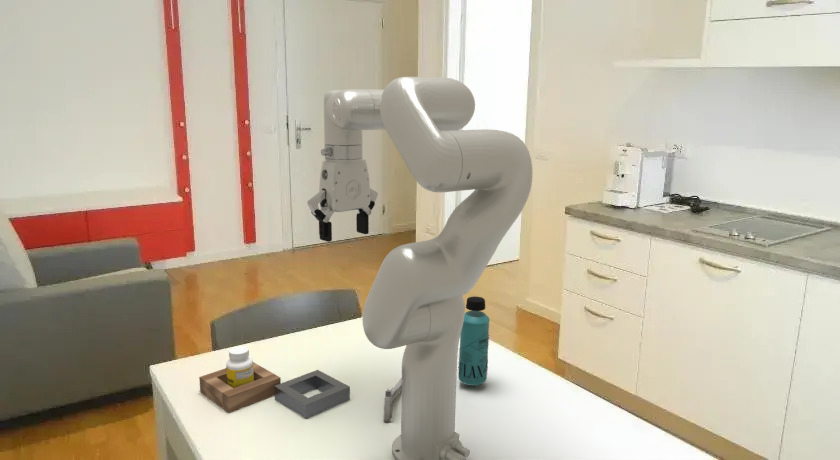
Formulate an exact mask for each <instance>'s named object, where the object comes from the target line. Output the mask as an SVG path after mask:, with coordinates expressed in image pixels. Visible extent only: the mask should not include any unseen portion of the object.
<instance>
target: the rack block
mask: <svg viewBox="0 0 840 460" xmlns="http://www.w3.org/2000/svg"><path fill="white" fill-rule="evenodd" d="M253 372H254V381H252V382H250V383H247V384H244V385H241V386H239V387H236V388H232V387H231V386H229V385H228V384H227V369H226V367H225V368H223V369H219V370H217V371H213V372H210V373H207V374H205V375H201V376H199V377H198V379H199V392H200V394H202V395H203V396H205V397H206V398H207V399H209V400H210V401H212V402H214V403H215V404H216V405H217V406H219V407H220V408H222V409H223V410H224V411H226V412H227V413H229V414H230V413H233V412H235V411H238V410H241V409H243V408H245V407H249V406H250V405H254V404H256V403H259V402H261V401H264V400H266V399H268V398H271V397H275V390H274V386H276V385H278V384H281V383H282V381H281V380H282V379H281V377H280V376H279V375H276V374H275V373H273V372H271V371H270V370H268V369H267V368H264V367H262V365H259V364H257V363H256V362H254V361H253Z"/></svg>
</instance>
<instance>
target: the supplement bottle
mask: <svg viewBox="0 0 840 460" xmlns="http://www.w3.org/2000/svg"><path fill="white" fill-rule="evenodd" d="M228 357H229V358H228V360H227V361H226V364H225V368H226V369H227V384H228V385H229V386H231V387H232V388H236V387H239V386H241V385H244V384H247V383H250V382H252V381H254V372H253V362H254V361H253V359H252V357H251V356H250V349H249V348H248V347H247V346H244V345H241V346H240V345H238V346H233V347H231V348H230V349H228Z"/></svg>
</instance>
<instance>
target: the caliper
mask: <svg viewBox="0 0 840 460" xmlns="http://www.w3.org/2000/svg"><path fill="white" fill-rule="evenodd" d="M401 393H402V377H401V378H400V379H399V380H398V382H397V383H396V384H395V386H394V387H392V388H391V389H389V388H387V390H385V397H384V400H383V401H384V404H383V422H388V423H390V419H392V416H393V415H392V414H393V407H394V404H396V402H397V398H398V396H399V394H401Z"/></svg>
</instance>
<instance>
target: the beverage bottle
mask: <svg viewBox="0 0 840 460" xmlns="http://www.w3.org/2000/svg"><path fill="white" fill-rule="evenodd" d="M465 309H467V310H468V311H467V312H466V311H465V316H464V322H463V326H462V330H461V334H460V339H459V349H458V357H457V360H458V362H457V366H458V369H457V372H458V374H457V376H458V379H459V381H460V382H461V383H462V384H465V385H469V386H479V385H482V384H484V383H486V381H487V379H488V371H489V367H488V364H489V359H488V358H489V356H488V355H489V345H490V334H489V331H490V320H491V319H490V318H489V316H488V315H487V314H486V313H485V312H483V311H484V310H485V309H486V299H485V298H484V297H482V296H469V297H467V299H466V303H465Z"/></svg>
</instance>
